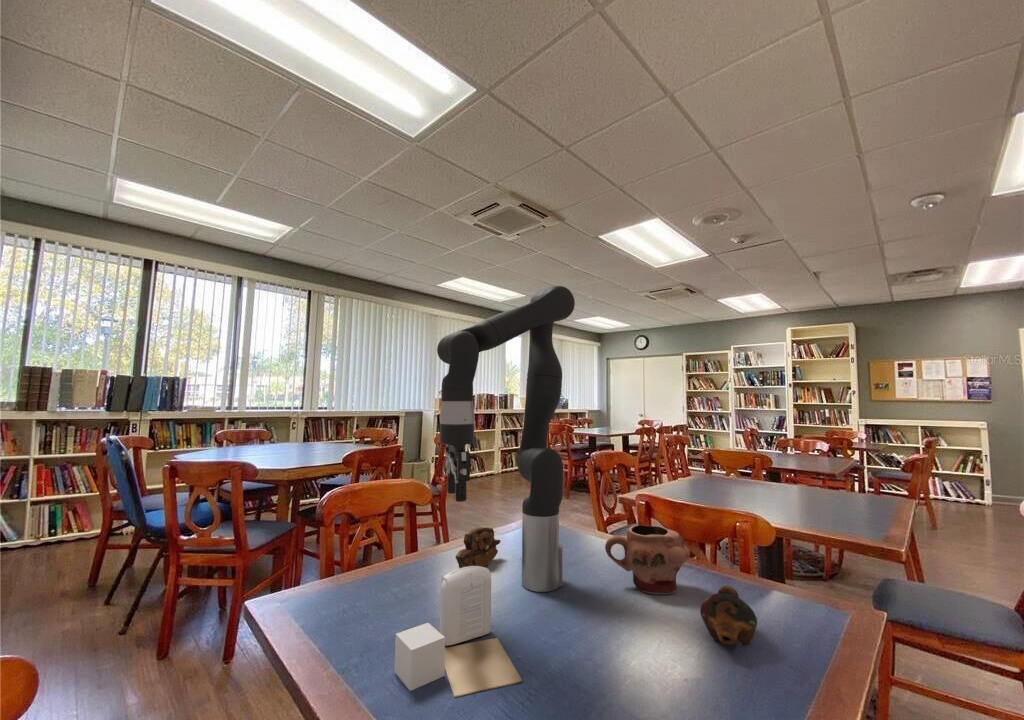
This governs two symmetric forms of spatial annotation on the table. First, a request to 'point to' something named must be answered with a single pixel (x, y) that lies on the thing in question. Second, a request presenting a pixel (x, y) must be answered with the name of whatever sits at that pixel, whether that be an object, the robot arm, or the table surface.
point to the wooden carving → (478, 548)
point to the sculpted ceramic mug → (651, 557)
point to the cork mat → (479, 667)
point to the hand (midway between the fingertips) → (456, 496)
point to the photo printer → (465, 604)
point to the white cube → (419, 655)
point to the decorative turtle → (728, 617)
